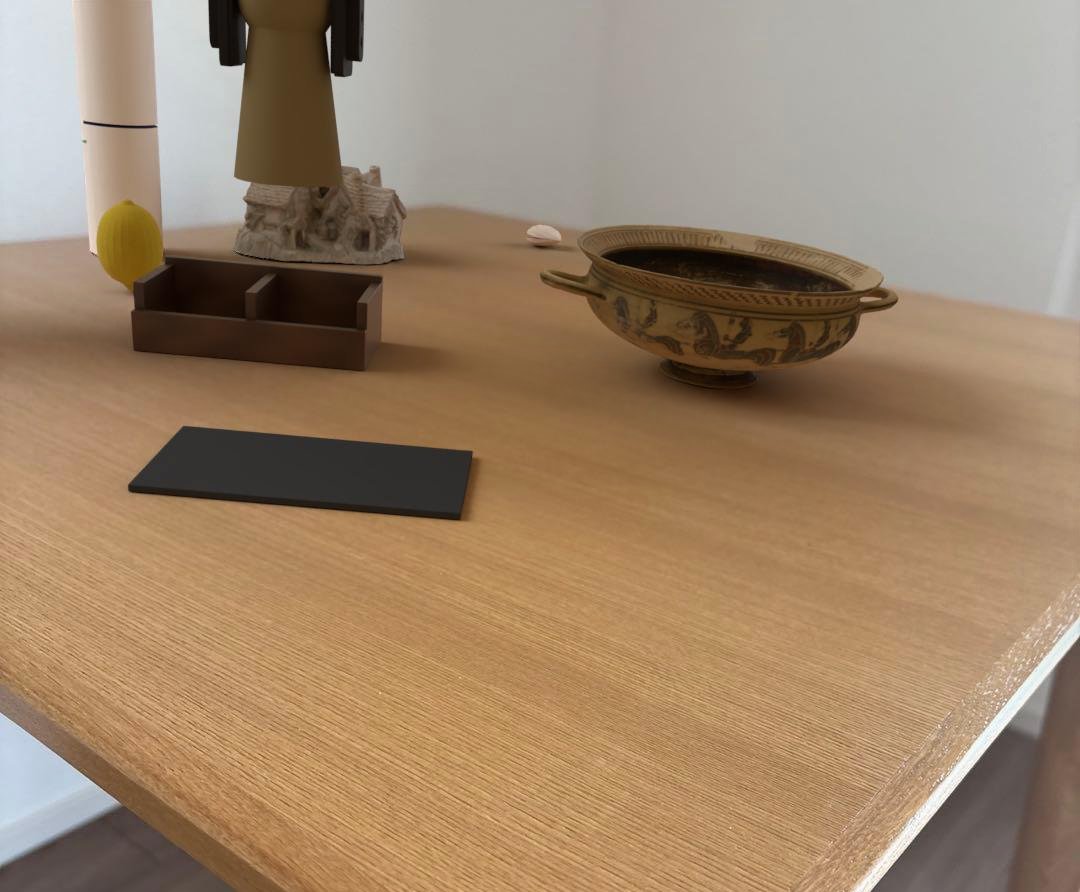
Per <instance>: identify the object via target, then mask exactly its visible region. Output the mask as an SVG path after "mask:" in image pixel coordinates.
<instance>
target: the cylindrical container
mask: <svg viewBox="0 0 1080 892" xmlns="http://www.w3.org/2000/svg"><path fill="white" fill-rule="evenodd" d="M71 13H72V26H73V39H74V54H75V67H76V79H77V81H76V82H77V94H78V108H79V118H80V119H79V121H80V134H81V136H80V137H81V139H82V140H81V147H82V149H81V150H82V160H83V161H82V162H83V172H84V173H83V175H84V188H85V200H86V201H85V205H86V215H87V229H88V243H89V252H90V251H91V252H93V253H95V254H98V253H97V245H96V239H97V230H98V226H99V222H100V220H101V218H102V216H103V215H104V213H105V212H106V211H107V210H108V209H110V208H111V207H113V206H115V205H117V204H120V203H121V202H122V201H123V200H126V199H128V200H132V202H133V203H134V204H136V205H138V206H140V207H142V208H144V209H145V210H147V211H148V212H149V213H150V214H151V215H152V216H153V217H154V219H155V221H156V223H157V225H158V227H159V230H160V233H161V237H162V243H163V244H164V231H163V230H164V229H163V208H162V206H163V205H162V187H161V185H162V184H161V166H160V165H161V164H160V145H159V126H158V125H159V124H158V122H159V121H158V101H157V81H156V77H157V76H156V57H155V55H156V54H155V38H154V16H153V0H71ZM163 252H164V248H163ZM164 253H165V252H164Z"/></svg>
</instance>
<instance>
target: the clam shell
mask: <svg viewBox="0 0 1080 892" xmlns="http://www.w3.org/2000/svg"><path fill="white" fill-rule="evenodd" d="M526 233H527V235H529V236H527V237H526V240H527V241H528V242H529V243H530V244H531V245H534V246H540V247H550V246H553V245H557V244H559V243H560V242H561V241H562V236H561V233H560V232H559V231H558V230H556V229H555V228H554V227H552V226H551V225H544V224H537V225H532V226H531V227H530V228H529V229H528V230H527V231H526Z"/></svg>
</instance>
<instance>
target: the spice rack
mask: <svg viewBox="0 0 1080 892" xmlns="http://www.w3.org/2000/svg"><path fill="white" fill-rule="evenodd" d="M383 289H384V274H381V273H370V272H360V271H359V272H358V271H350V270H337V269H327V268H326V269H325V268H315V267H304V266H294V265H284V264H282V265H281V264H272V263H262V262H261V263H260V262H250V261H240V260H239V261H238V260H227V259H217V258H216V259H215V258H206V257H196V256H195V257H194V256H184V255H173V254H167V255H165V256H164V263H163V264H161V266H159V267H158V268H156V269H154V270H153V271H151V272H149V273H147V274H146V275H144V276H142V277H141V278H139V279H137V280H136V281H134V282H133V290H134V291H133V304H134V305H133V306H134V308H133V309H132V310H130V318H131V321H130V322H131V335H132V350H133V351H137V352H147V353H159V354H171V355H181V356H193V357H204V358H216V359H227V360H237V361H238V360H239V361H250V362H259V363H272V364H282V365H283V364H284V365H294V366H305V367H314V368H315V367H316V368H326V369H327V368H328V369H339V370H350V371H361V372H365V370H366V368H367V367H368V365H369V363H370V361H371V359H372V358H373V356H374V354H375V352H376V350H377V348H378V347H379V345H380V343H381V341H382V324H383V323H382V322H383V292H384V291H383Z"/></svg>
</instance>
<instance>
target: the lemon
mask: <svg viewBox="0 0 1080 892" xmlns="http://www.w3.org/2000/svg"><path fill="white" fill-rule="evenodd" d="M96 245H97V253H98V256H97V257H98V260H99V262H100V265H101V267H102V268H103V270H104V271H105V272H106V274H107V275H109V276H110V278H112V279H113V280H114V281H116V282H119V283H121V284H122V285H123V286H125V288H126V289H127V290H128V291H131V292H134V290H133V282H134V281H136V280H137V279H139V278H141V277H142V276H144V275H146V274H147V273H149V272H151V271H153V270H154V269H156V268H158V267H159V266H161V265H162V262H163V259H164V257H163V256H164V255H163V249H164V242H163V243H162V237H161V233H160V230H159V227H158V225H157V223H156V221H155V219H154V217H153V216H152V215H151V214H150V213H149V212H148V211H147V210H145V209H144V208H142V207H140V206H138V205H136V204H134V203H133V202H132V200H128V199H126V200H123V201H122V202H121V203H120V204H117V205H115V206H113V207H111V208H110V209H108V210H107V211H106V212H105V213H104V215H103V216H102V218H101V220H100V222H99V226H98V230H97V239H96Z"/></svg>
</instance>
